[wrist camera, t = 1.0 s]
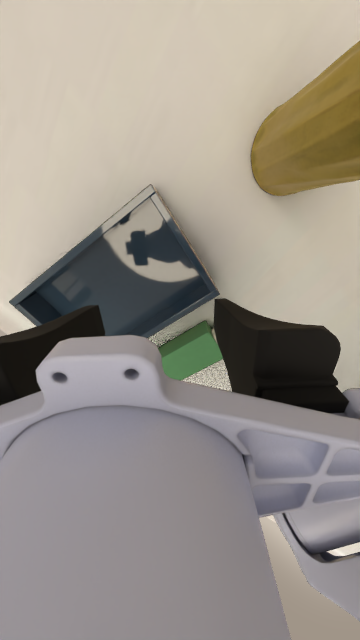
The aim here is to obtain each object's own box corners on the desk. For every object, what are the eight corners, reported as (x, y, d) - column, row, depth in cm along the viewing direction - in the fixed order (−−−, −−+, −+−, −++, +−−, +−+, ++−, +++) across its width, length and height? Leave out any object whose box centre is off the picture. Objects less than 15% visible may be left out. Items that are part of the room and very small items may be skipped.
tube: (214, 314, 24) (218, 326, 22) (230, 339, 26) (236, 352, 24) (132, 362, 27) (128, 376, 25) (151, 381, 29) (149, 396, 27)
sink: (214, 281, 23) (220, 294, 19) (100, 353, 27) (90, 373, 23) (155, 187, 18) (150, 183, 15) (31, 288, 23) (8, 302, 19)
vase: (265, 210, 19) (429, 220, 7) (238, 135, 17) (420, -68, 4) (334, 168, 18) (699, 84, 5) (316, 80, 16) (917, -454, 3)
